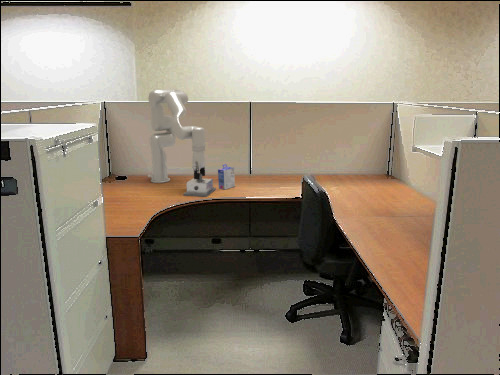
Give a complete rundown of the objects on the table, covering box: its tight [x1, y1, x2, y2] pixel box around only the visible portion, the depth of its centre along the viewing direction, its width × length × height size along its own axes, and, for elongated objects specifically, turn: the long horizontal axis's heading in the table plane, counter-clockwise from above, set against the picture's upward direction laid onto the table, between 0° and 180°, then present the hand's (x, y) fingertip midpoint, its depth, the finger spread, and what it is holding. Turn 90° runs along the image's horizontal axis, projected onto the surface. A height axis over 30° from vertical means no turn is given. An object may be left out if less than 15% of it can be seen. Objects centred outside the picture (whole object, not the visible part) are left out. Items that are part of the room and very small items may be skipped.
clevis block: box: [183, 177, 217, 198], centre depth 260 cm, size 14×18×7 cm
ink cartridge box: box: [217, 163, 236, 190], centre depth 271 cm, size 10×6×14 cm, turn 141°
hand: (199, 177), depth 259 cm, fingers open, 9 cm apart
